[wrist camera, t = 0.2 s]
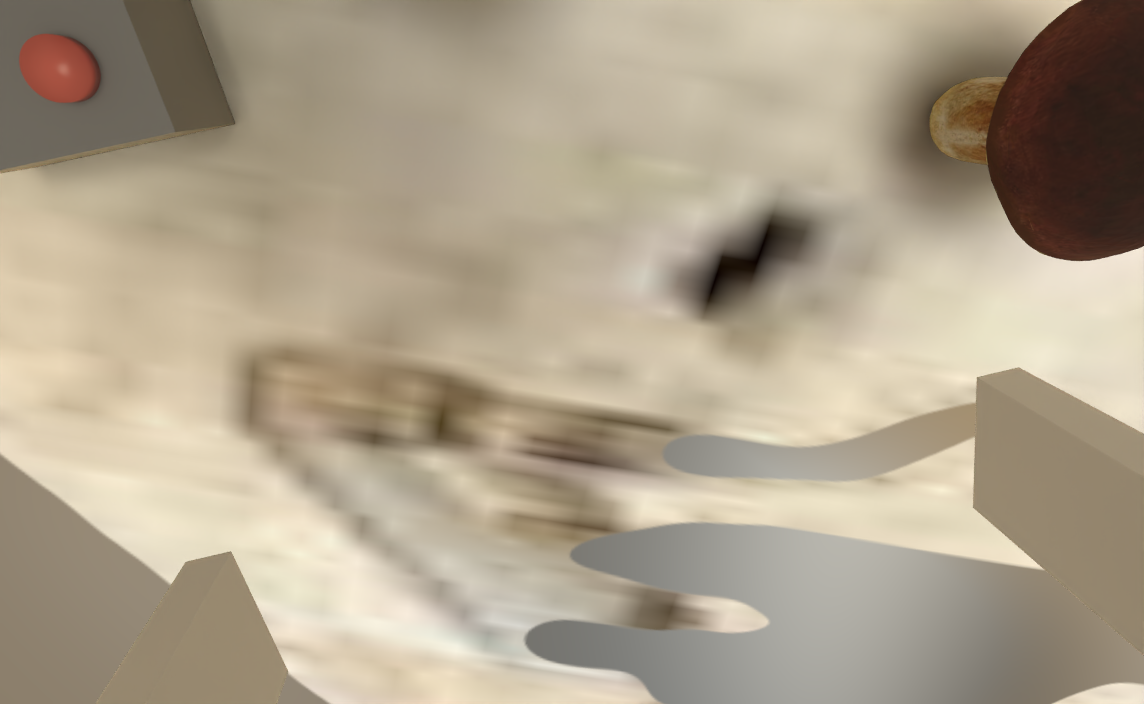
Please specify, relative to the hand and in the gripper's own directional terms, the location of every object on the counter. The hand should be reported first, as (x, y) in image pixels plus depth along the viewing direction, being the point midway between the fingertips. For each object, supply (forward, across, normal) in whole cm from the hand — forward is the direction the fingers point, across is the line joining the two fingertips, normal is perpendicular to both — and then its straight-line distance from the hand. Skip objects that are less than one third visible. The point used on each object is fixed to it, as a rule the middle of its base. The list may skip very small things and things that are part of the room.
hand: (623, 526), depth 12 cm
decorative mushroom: (+28, +24, +1) cm, 37 cm away
